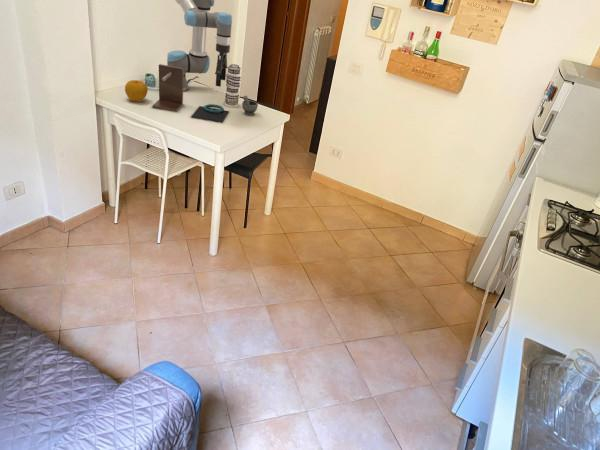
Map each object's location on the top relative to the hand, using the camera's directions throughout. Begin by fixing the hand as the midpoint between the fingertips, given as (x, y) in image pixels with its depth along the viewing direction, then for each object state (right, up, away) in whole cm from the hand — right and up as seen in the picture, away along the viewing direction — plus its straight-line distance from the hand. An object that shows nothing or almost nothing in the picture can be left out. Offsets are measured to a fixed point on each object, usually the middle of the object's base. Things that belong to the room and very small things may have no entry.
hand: (220, 82), depth 248 cm
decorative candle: (+1, -4, +32) cm, 32 cm away
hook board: (-33, -11, +11) cm, 37 cm away
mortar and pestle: (+13, -12, +22) cm, 29 cm away
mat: (-8, -16, +10) cm, 20 cm away
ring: (-7, -11, +15) cm, 20 cm away
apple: (-52, -7, +11) cm, 54 cm away
